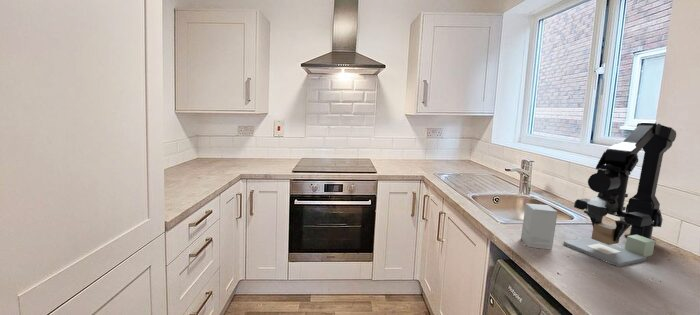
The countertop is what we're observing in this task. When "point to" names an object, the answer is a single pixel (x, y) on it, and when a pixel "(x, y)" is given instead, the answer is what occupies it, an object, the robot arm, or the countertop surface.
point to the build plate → (605, 251)
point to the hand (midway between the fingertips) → (605, 237)
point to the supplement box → (539, 226)
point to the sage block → (640, 245)
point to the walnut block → (604, 233)
